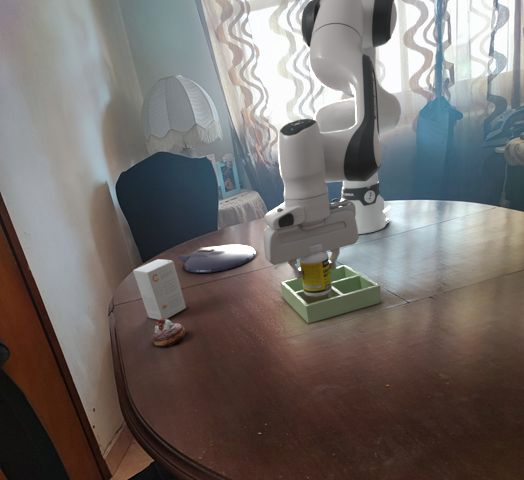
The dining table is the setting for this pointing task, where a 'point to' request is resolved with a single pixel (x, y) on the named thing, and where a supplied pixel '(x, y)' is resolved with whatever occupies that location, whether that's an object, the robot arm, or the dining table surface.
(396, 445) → the dining table surface
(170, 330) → the pastry
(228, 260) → the toy spaceship
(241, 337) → the dining table surface
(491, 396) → the dining table surface
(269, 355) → the dining table surface
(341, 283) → the divided tray
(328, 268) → the pill bottle
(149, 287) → the small box
